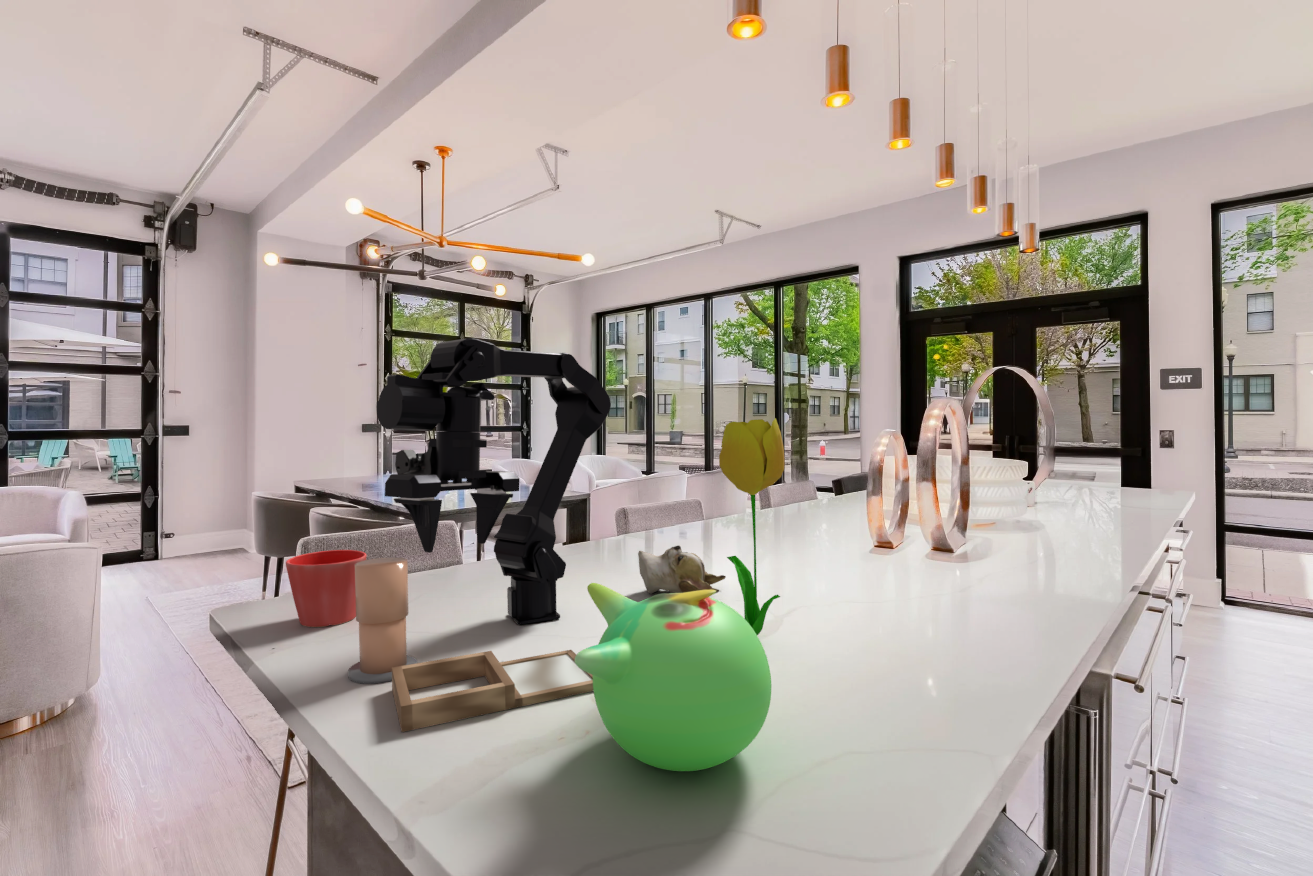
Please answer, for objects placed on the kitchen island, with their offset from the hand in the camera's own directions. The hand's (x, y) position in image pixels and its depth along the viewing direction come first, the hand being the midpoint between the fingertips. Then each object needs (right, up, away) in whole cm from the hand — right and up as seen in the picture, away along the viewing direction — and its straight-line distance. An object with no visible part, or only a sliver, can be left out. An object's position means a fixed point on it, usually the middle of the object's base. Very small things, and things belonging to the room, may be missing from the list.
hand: (456, 547), depth 85 cm
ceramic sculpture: (+31, -12, +24) cm, 41 cm away
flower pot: (-23, -13, +11) cm, 29 cm away
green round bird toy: (+29, -14, -29) cm, 43 cm away
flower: (+40, -13, 0) cm, 42 cm away
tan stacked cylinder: (-6, -13, -9) cm, 17 cm away
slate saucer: (-6, -13, -9) cm, 17 cm away
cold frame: (+9, -13, -15) cm, 22 cm away
